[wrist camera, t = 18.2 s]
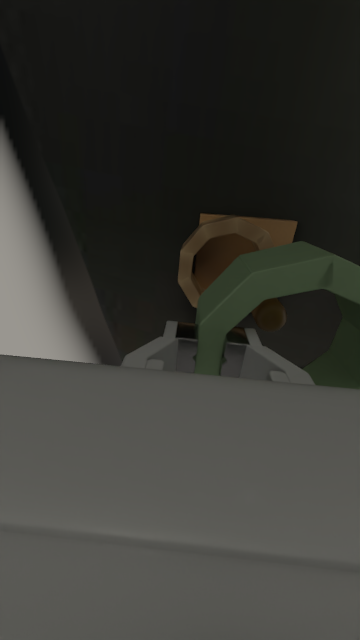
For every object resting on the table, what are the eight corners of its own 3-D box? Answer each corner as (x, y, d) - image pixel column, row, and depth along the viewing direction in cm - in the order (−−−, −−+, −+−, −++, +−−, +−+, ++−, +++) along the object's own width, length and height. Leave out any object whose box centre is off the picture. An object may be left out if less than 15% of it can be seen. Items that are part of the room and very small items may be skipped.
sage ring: (205, 232, 11) (209, 244, 9) (398, 249, 11) (463, 266, 8) (188, 385, 15) (186, 424, 13) (327, 398, 15) (355, 441, 13)
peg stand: (200, 212, 24) (203, 231, 12) (292, 220, 24) (395, 247, 11) (192, 297, 28) (187, 378, 16) (270, 304, 28) (327, 391, 15)
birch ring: (185, 209, 22) (184, 211, 20) (280, 219, 22) (291, 223, 20) (177, 300, 27) (174, 312, 24) (256, 309, 27) (263, 322, 24)
